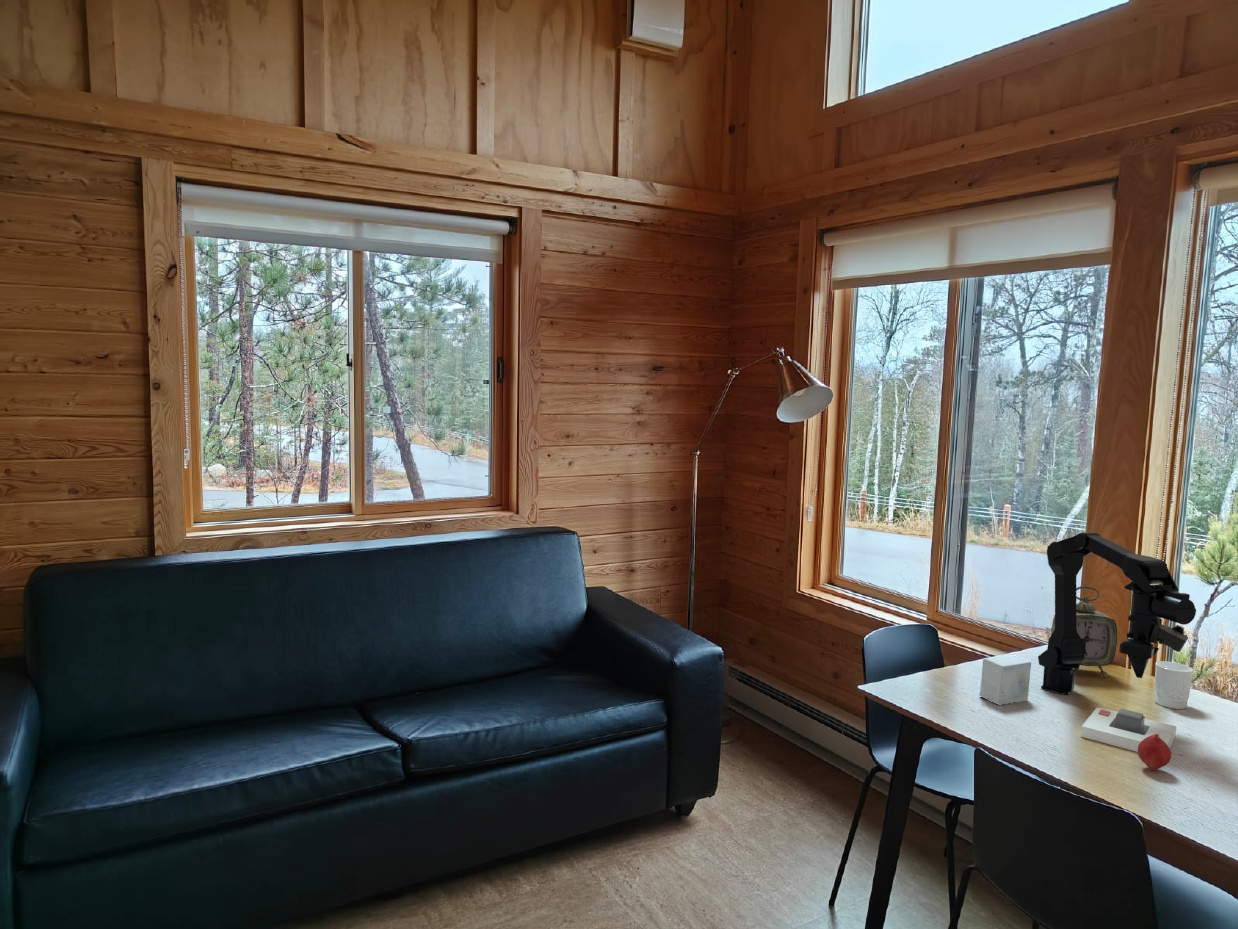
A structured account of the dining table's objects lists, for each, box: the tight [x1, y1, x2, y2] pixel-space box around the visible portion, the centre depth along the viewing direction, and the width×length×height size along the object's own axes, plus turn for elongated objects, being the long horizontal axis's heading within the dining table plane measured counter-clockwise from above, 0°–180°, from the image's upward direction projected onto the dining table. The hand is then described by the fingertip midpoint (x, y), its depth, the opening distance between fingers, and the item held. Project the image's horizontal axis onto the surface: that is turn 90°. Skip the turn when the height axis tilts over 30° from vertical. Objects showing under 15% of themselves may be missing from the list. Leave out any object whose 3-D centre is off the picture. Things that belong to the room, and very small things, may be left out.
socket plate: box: [1080, 707, 1177, 753], centre depth 186 cm, size 16×16×3 cm
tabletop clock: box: [1050, 585, 1118, 678], centre depth 229 cm, size 14×9×25 cm, turn 82°
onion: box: [1137, 733, 1172, 771], centre depth 169 cm, size 6×6×8 cm
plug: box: [1115, 708, 1146, 735], centre depth 186 cm, size 5×4×5 cm
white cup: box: [1154, 660, 1194, 710], centre depth 207 cm, size 8×8×10 cm
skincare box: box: [979, 654, 1032, 706], centre depth 207 cm, size 10×6×10 cm, turn 114°
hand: (1139, 677), depth 191 cm, fingers closed
